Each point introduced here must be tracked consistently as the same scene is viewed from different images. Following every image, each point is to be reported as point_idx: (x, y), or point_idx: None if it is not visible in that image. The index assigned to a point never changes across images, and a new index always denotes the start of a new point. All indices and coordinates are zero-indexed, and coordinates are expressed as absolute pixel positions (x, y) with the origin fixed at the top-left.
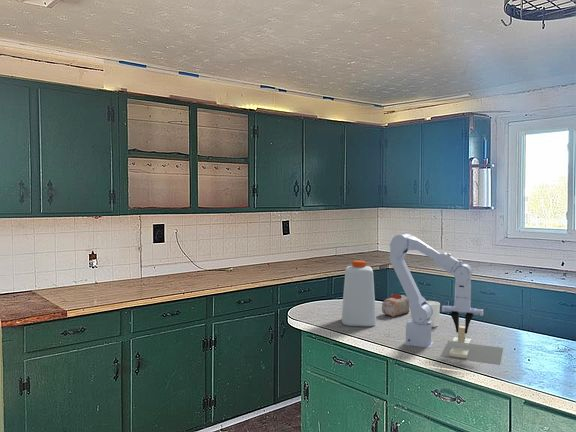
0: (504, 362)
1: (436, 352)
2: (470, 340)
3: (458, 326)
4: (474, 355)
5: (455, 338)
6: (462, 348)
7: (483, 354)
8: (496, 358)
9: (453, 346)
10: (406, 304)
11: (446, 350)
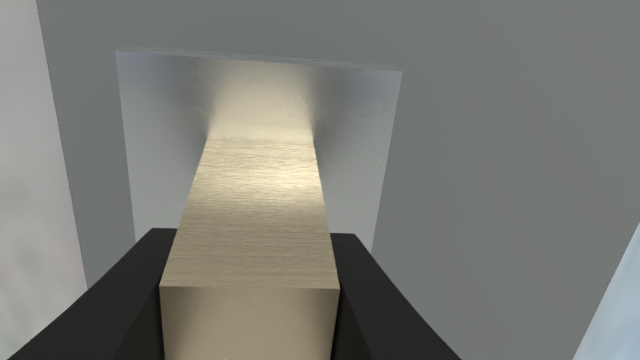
0: (619, 289)
1: (27, 268)
2: (386, 156)
3: (161, 357)
4: (395, 265)
5: (155, 152)
6: None
7: (486, 208)
8: (580, 269)
9: None
10: None
11: (110, 225)
